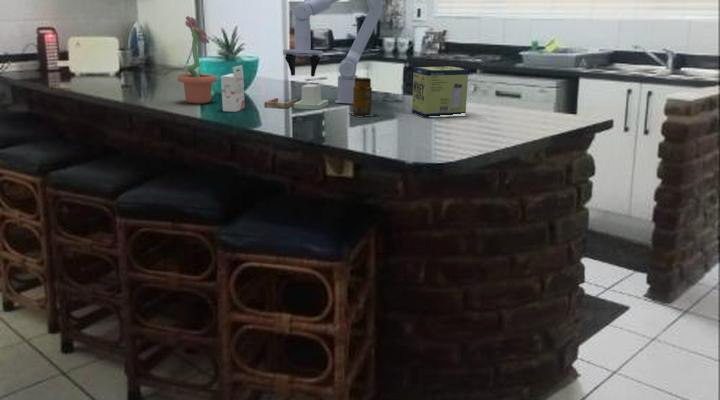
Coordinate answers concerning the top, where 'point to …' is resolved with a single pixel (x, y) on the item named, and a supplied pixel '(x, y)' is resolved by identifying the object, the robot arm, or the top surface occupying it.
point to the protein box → (439, 91)
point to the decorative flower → (195, 83)
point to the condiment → (362, 97)
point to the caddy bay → (275, 104)
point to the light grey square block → (311, 93)
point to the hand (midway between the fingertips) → (303, 75)
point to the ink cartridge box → (233, 90)
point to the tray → (311, 105)
